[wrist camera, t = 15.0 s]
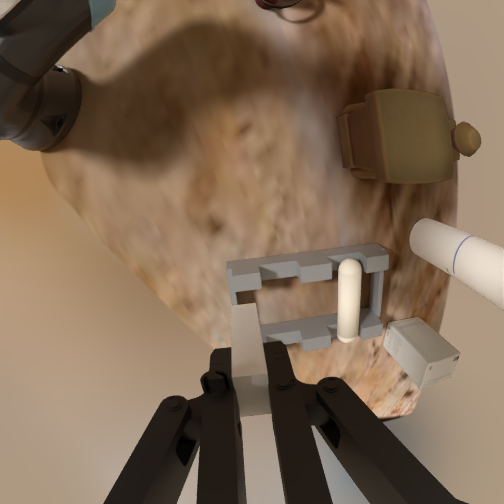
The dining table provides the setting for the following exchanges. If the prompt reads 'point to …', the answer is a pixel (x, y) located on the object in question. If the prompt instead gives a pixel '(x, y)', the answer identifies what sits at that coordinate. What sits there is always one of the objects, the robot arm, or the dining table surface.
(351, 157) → the wooden toy train
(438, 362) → the skincare box
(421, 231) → the cylindrical container
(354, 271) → the cream round-ended rod
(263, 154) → the dining table surface
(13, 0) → the robot arm
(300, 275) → the grey notched frame
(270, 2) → the binoculars
